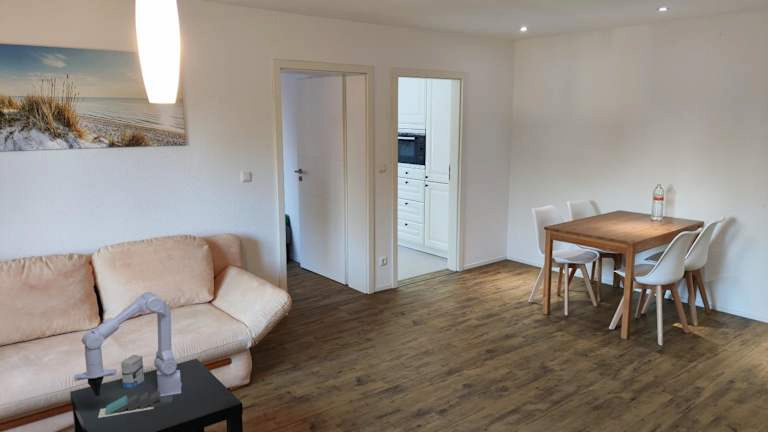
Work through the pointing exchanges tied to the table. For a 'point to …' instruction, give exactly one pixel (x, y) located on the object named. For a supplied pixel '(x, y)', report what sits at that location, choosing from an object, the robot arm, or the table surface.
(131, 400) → the tile
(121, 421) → the table surface
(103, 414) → the mat
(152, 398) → the tile
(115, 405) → the tile teal
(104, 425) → the table surface
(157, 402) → the tile
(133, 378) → the ink box
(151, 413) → the table surface
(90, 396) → the table surface
